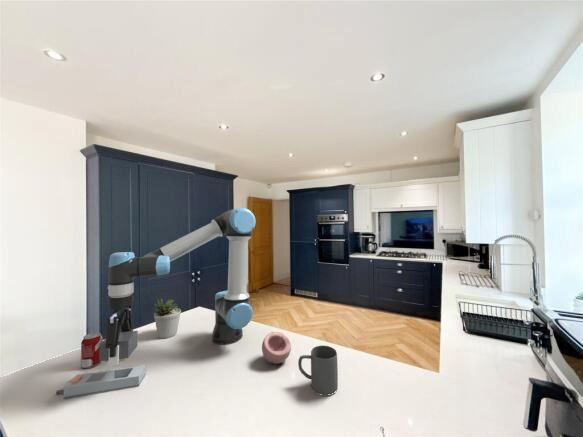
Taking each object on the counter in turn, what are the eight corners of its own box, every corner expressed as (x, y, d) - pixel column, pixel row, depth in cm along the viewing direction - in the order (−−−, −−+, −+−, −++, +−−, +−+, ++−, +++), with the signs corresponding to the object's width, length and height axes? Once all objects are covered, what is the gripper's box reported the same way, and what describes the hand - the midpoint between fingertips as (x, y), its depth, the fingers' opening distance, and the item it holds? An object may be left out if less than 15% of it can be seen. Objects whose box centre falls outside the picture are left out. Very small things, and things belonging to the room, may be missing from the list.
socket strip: (145, 374, 90) (145, 363, 90) (138, 386, 84) (138, 374, 84) (63, 387, 84) (63, 375, 84) (48, 401, 77) (49, 388, 77)
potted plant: (158, 330, 129) (158, 293, 130) (184, 328, 130) (184, 292, 131) (146, 341, 116) (146, 300, 117) (175, 339, 118) (175, 299, 119)
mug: (337, 379, 85) (336, 346, 86) (338, 398, 76) (337, 360, 77) (300, 376, 87) (299, 343, 88) (296, 393, 78) (296, 357, 79)
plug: (137, 351, 90) (137, 330, 91) (128, 363, 82) (128, 340, 83) (111, 354, 88) (111, 333, 89) (99, 367, 80) (99, 343, 80)
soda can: (90, 370, 93) (90, 339, 94) (76, 368, 95) (76, 338, 95) (106, 360, 100) (106, 332, 100) (93, 359, 101) (93, 331, 102)
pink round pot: (273, 374, 89) (273, 343, 89) (256, 360, 98) (256, 333, 98) (297, 361, 97) (296, 333, 97) (279, 350, 106) (278, 324, 106)
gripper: (122, 288, 96) (120, 345, 95) (92, 305, 75) (90, 378, 74) (143, 287, 97) (141, 343, 96) (119, 303, 77) (118, 374, 76)
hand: (119, 358), depth 85 cm, fingers closed on plug, 8 cm apart
